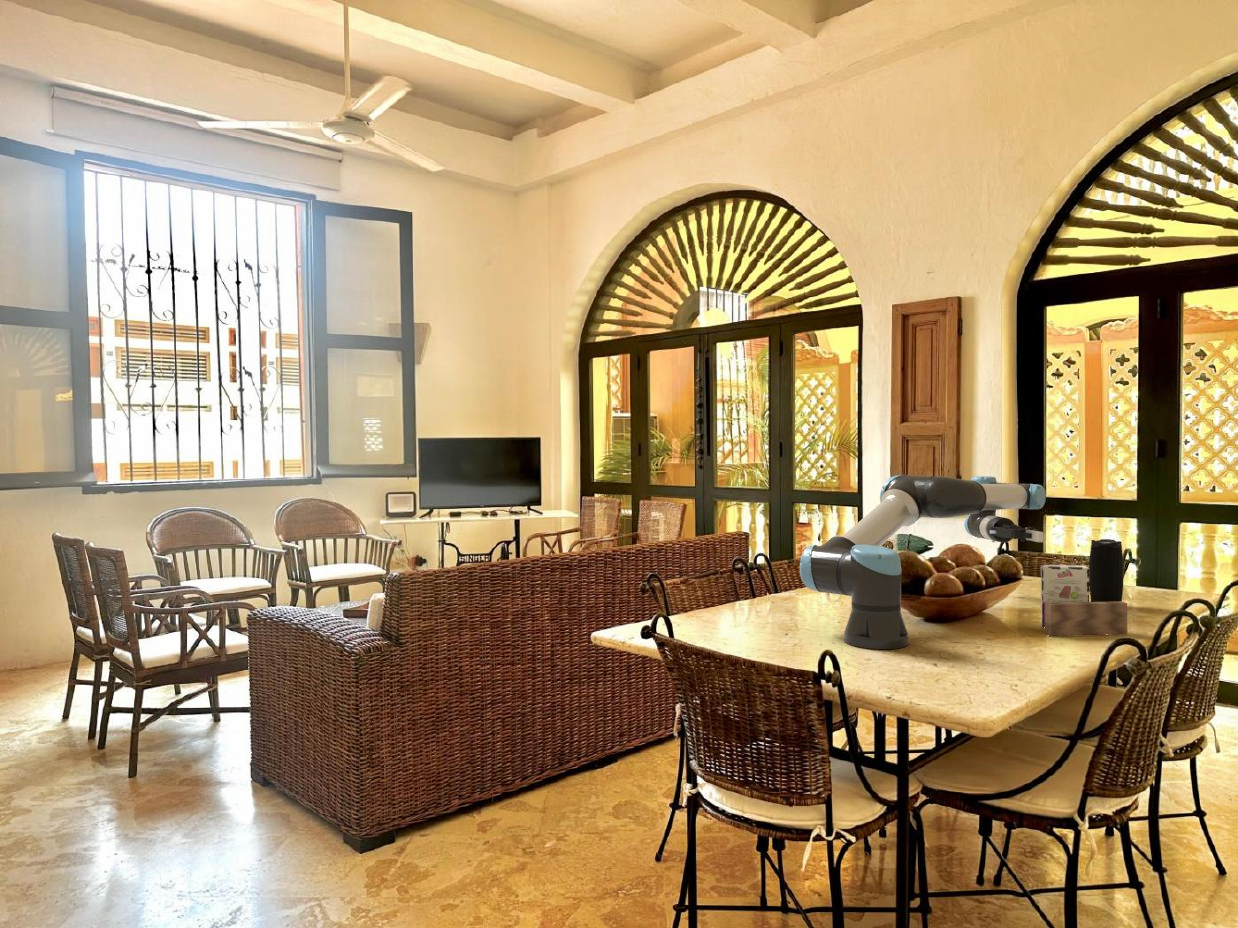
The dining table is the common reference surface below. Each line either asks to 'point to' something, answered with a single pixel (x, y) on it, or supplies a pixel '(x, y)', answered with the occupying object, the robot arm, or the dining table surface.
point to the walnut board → (1085, 618)
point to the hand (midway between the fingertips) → (1040, 537)
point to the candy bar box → (1063, 585)
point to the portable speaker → (1106, 571)
